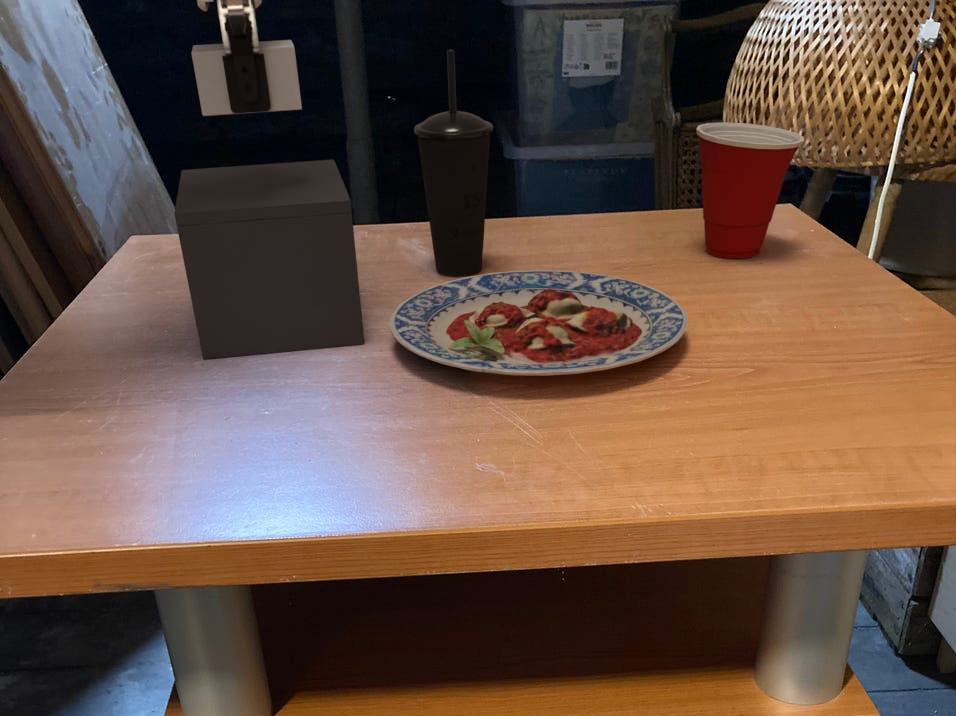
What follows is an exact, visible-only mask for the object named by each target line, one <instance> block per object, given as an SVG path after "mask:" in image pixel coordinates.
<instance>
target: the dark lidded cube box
mask: <svg viewBox="0 0 956 716" xmlns="http://www.w3.org/2000/svg"><path fill="white" fill-rule="evenodd" d="M341 175H342V174H341V173H340V171H339V168H338V165H337V164H336V161H335V159H322V160H307V161H293V162H292V161H291V162H277V163H265V164H264V163H262V164H251V165H249V164H248V165H234V166H220V167H208V168H207V167H205V168H193V169H190V168H189V169H182V170H181V173H180V178H179V184H178V190H177V195H176V200H175V201H176V202H175V206H174V207H175V208H174V218H175V219H174V221H175V224H176V230H177V236H178V240H179V244H180V249H181V254H182V259H183V264H184V269H185V274H186V280H187V285H188V290H189V294H190V300H191V305H192V311H193V315H194V319H195V325H196V330H197V334H198V339H199V346H200V350H201V355H202V359H203V360H210V359H221V358H222V359H223V358H232V357H242V356H253V355H263V354H274V353H283V352H293V351H295V352H296V351H306V350H314V349H324V348H335V347H346V346H356V345H364V344H365V335H364V334H365V333H364V324H363V313H362V304H361V303H362V302H361V294H360V293H361V291H360V284H359V283H360V282H359V273H358V263H357V252H356V243H355V242H356V241H355V232H354V231H355V230H354V221H353V210H352V201H351V198H350V195H349V192H348V191H347V187H346V186H345V183H344V180H343V178H342V176H341Z"/></svg>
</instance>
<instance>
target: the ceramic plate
mask: <svg viewBox="0 0 956 716" xmlns="http://www.w3.org/2000/svg"><path fill="white" fill-rule="evenodd" d="M688 326H689V315H688V313H687V311H686V309H685V308H684V307H683V305H682V304H681V303H680V301H678V300H676V299H675V298H673V297H672V296H670V295H669V294H667V293H665V292H663V291H662V290H660V289H658V288H656V287H652V286H651V285H648V284H645V283H642V282H638V281H636V280H630V279H627V278H623V277H619V276H614V275H608V274H606V275H605V274H601V273H594V272H589V271H576V270H560V269H559V270H558V269H557V270H556V269H531V270H530V269H529V270H528V269H525V270H509V271H500V272H499V271H498V272H489V273H482V274H475V275H469V276H463V277H459V278H457V279H453V280H449V281H445V282H442V283H438V284H435V285H432V286H430V287H428V288H427V287H426V288H425V289H422V290H420V291H418V292H416V293H414V294H413V295H411V296H409V297H407V298H406V299H405V300H403V301H402V302H400V303H399V304H398V305H397V306H396V308H395V309H394V310H393V311H392V313H391V315H390V317H389V328H390V331H391V334H392V336H393V337H394V339H395V340H396V342H398V343H399V344H400V345H401V346H403V348H406V349H407V350H408V351H410V352H412V353H414V354H416V355H417V356H420V357H421V358H425V359H427V360H430V361H433V362H435V363H439V364H440V365H446V366H449V367H453V368H459V369H462V370H466V371H471V372H476V373H477V372H478V373H487V374H497V375H507V376H535V377H536V376H537V377H540V376H542V377H547V376H549V377H550V376H563V375H565V376H566V375H579V374H585V373H592V372H599V371H606V370H611V369H615V368H619V367H624V366H627V365H632V364H635V363H639V362H641V361H645V360H648V359H649V358H652V357H654V356H656V355H658V354H661V353H663V352H666V351H667V350H668V349H670V348H671V347H672V346H674V345H675V344H677V343H678V342H679V341H680V340H681V339H682V338H683V336H684V335H685V333H686V332H687V329H688Z"/></svg>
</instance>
